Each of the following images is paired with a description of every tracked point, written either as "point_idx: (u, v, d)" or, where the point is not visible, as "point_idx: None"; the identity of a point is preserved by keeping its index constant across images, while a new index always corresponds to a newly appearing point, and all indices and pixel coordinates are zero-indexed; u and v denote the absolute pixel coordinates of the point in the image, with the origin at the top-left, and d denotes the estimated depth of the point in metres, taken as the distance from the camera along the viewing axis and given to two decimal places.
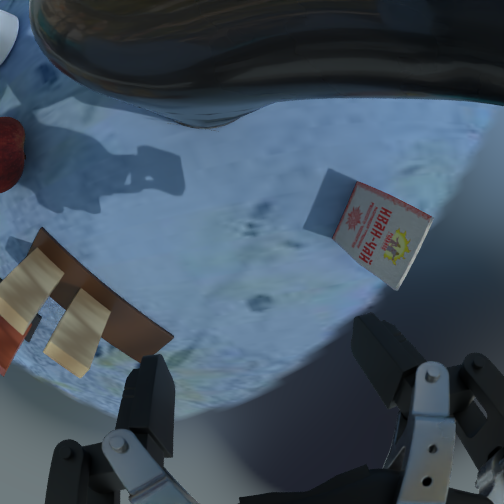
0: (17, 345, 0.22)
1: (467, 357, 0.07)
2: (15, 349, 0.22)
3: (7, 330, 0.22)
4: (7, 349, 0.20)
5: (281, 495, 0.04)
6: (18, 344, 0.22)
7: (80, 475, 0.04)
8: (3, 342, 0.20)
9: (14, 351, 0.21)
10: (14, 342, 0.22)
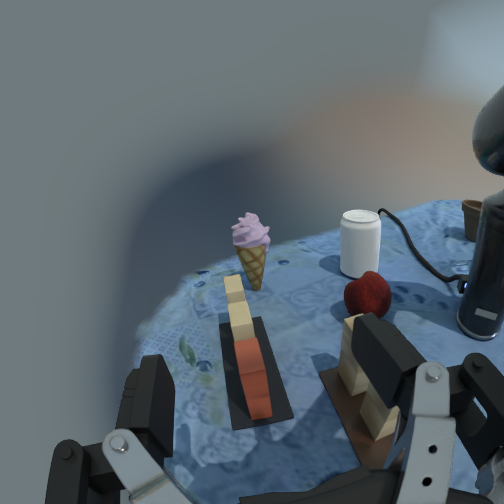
0: None
1: (467, 357, 0.07)
2: None
3: None
4: None
5: (281, 495, 0.04)
6: (268, 395, 0.25)
7: (80, 475, 0.04)
8: None
9: (267, 387, 0.24)
10: None
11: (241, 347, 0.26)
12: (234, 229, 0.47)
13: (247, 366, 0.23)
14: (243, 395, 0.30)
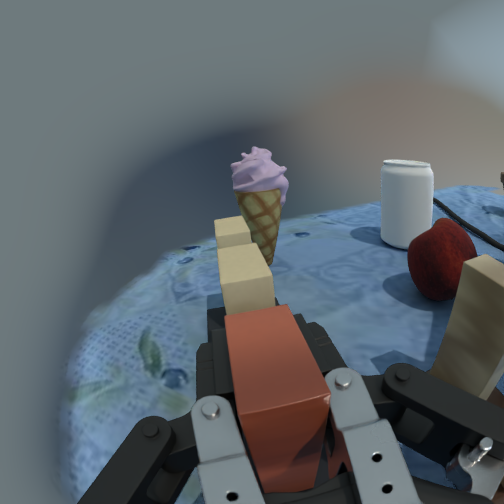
0: None
1: (386, 372, 0.07)
2: None
3: None
4: None
5: (281, 495, 0.04)
6: None
7: (157, 457, 0.05)
8: None
9: None
10: None
11: (244, 329, 0.09)
12: (235, 168, 0.31)
13: (268, 386, 0.06)
14: None
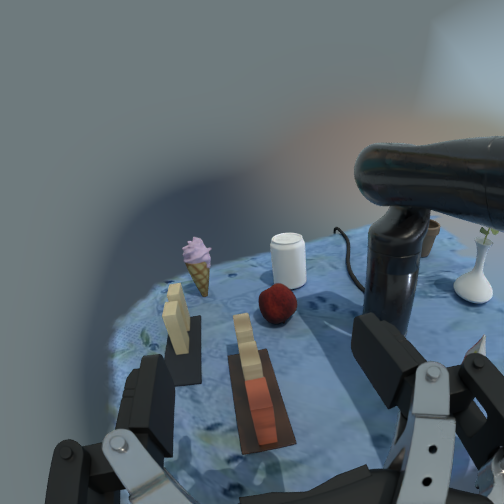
0: None
1: (466, 357, 0.07)
2: (274, 421, 0.26)
3: None
4: None
5: (281, 495, 0.04)
6: None
7: (80, 475, 0.04)
8: None
9: (274, 419, 0.26)
10: None
11: (251, 386, 0.28)
12: (184, 249, 0.62)
13: (257, 403, 0.26)
14: (173, 366, 0.44)
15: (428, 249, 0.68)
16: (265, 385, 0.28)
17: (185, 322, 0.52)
